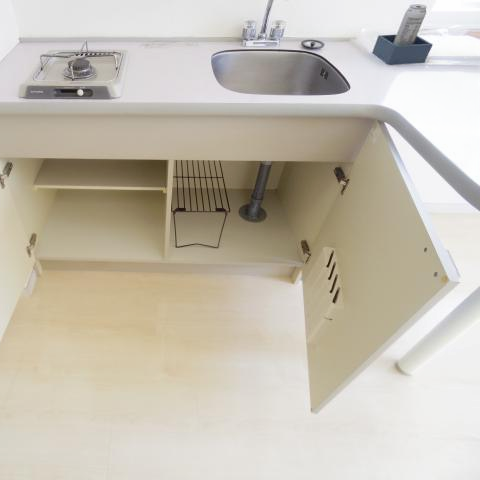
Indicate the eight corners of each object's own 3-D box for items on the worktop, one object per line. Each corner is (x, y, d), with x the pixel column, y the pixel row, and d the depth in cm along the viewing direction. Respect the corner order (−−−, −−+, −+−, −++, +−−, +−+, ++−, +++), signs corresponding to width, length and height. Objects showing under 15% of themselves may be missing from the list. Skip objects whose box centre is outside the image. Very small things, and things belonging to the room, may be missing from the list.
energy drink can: (406, 52, 126) (426, 4, 115) (408, 58, 122) (430, 8, 111) (387, 51, 128) (406, 3, 117) (390, 57, 124) (409, 8, 113)
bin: (424, 62, 121) (433, 44, 117) (388, 64, 121) (395, 46, 117) (406, 50, 130) (413, 33, 125) (372, 52, 130) (378, 35, 126)
